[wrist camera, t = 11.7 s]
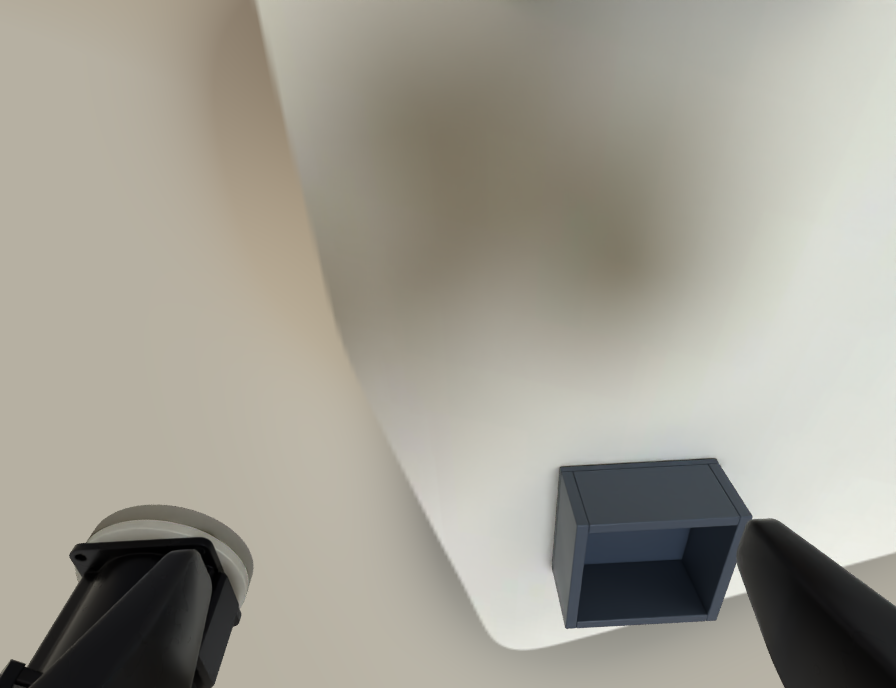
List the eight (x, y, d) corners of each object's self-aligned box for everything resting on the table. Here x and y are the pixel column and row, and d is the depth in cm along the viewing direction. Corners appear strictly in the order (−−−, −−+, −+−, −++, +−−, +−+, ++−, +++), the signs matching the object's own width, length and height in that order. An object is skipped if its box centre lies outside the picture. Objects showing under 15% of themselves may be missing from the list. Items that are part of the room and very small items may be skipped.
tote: (551, 567, 28) (565, 629, 25) (559, 466, 25) (576, 525, 22) (687, 559, 28) (716, 621, 25) (716, 458, 25) (753, 516, 22)
